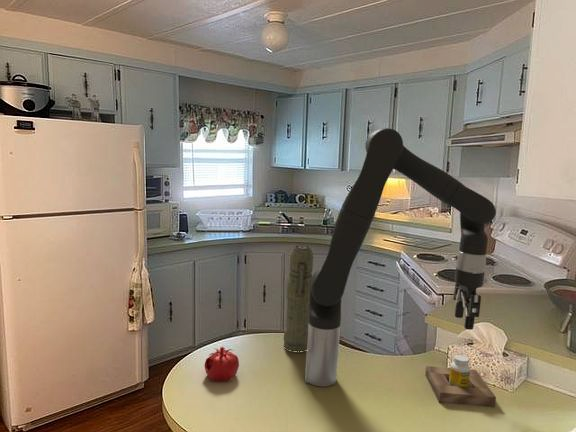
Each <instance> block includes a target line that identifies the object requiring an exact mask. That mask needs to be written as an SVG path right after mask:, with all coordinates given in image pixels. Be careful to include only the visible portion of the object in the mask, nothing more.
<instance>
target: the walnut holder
mask: <svg viewBox="0 0 576 432" xmlns="http://www.w3.org/2000/svg"><path fill="white" fill-rule="evenodd" d="M449 376H450V367H446V366H445V367H442V366H431V365H426V366H425V377H426V379H427V381H428V383H429V385H430V387H431V390H432V391H433V394H434V396H435V398H436V400H437V402H438V403H441V404H453V405H462V406H463V405H464V406H478V407H486V408H495V406H496V399H497V397H496V395H495V393H494V392H493V391H492V390H491V389H490V387H489V386H488V384H487V383H486V381H485V380H484V379H483V378H482V376H481V375H480V374H479V372H478V371H477V370H476V369H470V377H469V385H468V387H459V386H451V385H450V384H449Z"/></svg>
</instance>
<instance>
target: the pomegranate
mask: <svg viewBox="0 0 576 432" xmlns="http://www.w3.org/2000/svg"><path fill="white" fill-rule="evenodd" d="M213 349H214V350H216V351H214V352H211V353H210V354H209V355H208V357H207V358H206V359H205V360H204V361H205V362H204V370H205V373H206V376H207V377H208V378H209V379H210V380H211V381H213V382H217V383H222V382H229V381H231V380H232V379H233V378H235V376H236V375H237V373H238V370H239V367H240V361H239V357H238V355H236V354H234V353H233V352H234V351H235V350H234V349H232V348H229V349H226V348H225V347H224V346H220V348H216V347H215V348H213ZM231 351H233V352H231Z"/></svg>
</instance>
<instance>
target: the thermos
mask: <svg viewBox="0 0 576 432" xmlns="http://www.w3.org/2000/svg"><path fill="white" fill-rule="evenodd" d="M289 256H290V257H289V260H290V261H289V273H288V274H289V275H288V278H287V282H286V292H285V293H286V294H285V295H286V300H287V301H286V302H287V304H286V305H287V306H286V318H285V325H284V330H283V348H284V347H285V348H286V349H288V350H291V351H297V352H298V351H299V352H300V351H305V350H307V340H308V325H309V305H310V289H311V279H312V276H313V274H312V272H313V269H314V254H313V250H312V248H311V247H310V246H307V245H296V246H294V247H293V248H292V250H291V252H290V255H289ZM285 348H284V349H285ZM286 349H285V350H286Z"/></svg>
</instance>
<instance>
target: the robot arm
mask: <svg viewBox="0 0 576 432" xmlns="http://www.w3.org/2000/svg"><path fill="white" fill-rule="evenodd" d="M364 146H365V152H366V155H365V158H364V161H363V164H362V166H361V167H362V168H361V170H360V172H359V175H358V177H357V179H356V181H355V182H354V184H353V185H352V187H351V188H350V190H349V192H348V193H347V195H346V197H345V199H344V200H343V203H342V205H341V208H340V210H339V212H338V214H337V218H336V220H335V223H334V226H333V230H332V235H331V241H330V245H329V249H328V252H327V256H326V258H325V260H324V262H323V264H322V266H321V268H319V269H317V270H316V271H315V272H314V273H313V274H312V279H311V289H310V305H309V325H308V340H307V351H306V352H305V353H306V354H305V355H306V357H305V369H304V383H306V384H311V385H312V386H317V387H321V388H322V387H330V386H332V385H335V384H336V382H337V376H338V375H337V374H338V373H337V372H338V363H339V361H338V360H339V349H340V348H339V346H340V334H341V322H342V321H341V320H342V297H343V295H344V292H345V290H346V285H347V282H348V279H349V276H350V273H351V272H350V271H351V269H352V267H353V265H354V264H353V263H354V261H355V259H356V257H357V255H358V253H359V252H360V250H361V247H362V245H363V243H364V240H365V239H366V237H367V234H368V232H369V230H370V227H371V225H372V222H373V220H374V218H375V216H376V211H377V209H378V206H379V204H380V201H381V198H382V195H383V192H384V188H385V186H386V183H387V181H388V179H389V177H390V175H391V173H392V171H393V170H395V171H397V172H398V173H400V174H402V175H403V176H405V177H406V178H408V179H410V180H411V181H412V182H414V183H416V185H418V186H419V187H420V188H422V189H423V190H425V191H426V192H428V193H429V194H430V195H432V196H433V197H435V198H436V199H437V200H439V201H440V202H441V203H444V205H447V206H449V207H451V208H453V209H455V210H457V211H458V212H459V221H460V222H459V225H460V227H459V228H460V241H459V249H458V253H457V258H456V265H455V273H454V285H455V286H454V292H453V297H452V298H453V300H454V305H455V309H454V317H455V318H457V319H463V317H464V310H465V318H464V326H463V327H464V329H465V330H472V331H473V329H474V325H475V318H479V317H480V313H481V312H480V310H481V302H482V296H481V295H479V294H477V289H478V288H479V289H480V288H482V287H483V286H484V281H485V272H486V265H487V250H488V249H487V248H488V244H489V243H488V241H489V239H488V238H489V237H488V235H487V233H486V231H485V225H486V224H489V223H491V222H492V221H493V220H494V219H495V217H496V214H497V211H496V207H495V204H494V203H493V202H492V201H491V200H490V199H489V198H487V197H485V196H484V195H482V194H480V193H479V192H476V191H475V190H472V189H471V188H469V187H467V186H466V185H464V184H463V183H462V182H461V181H460V180H458V179H456V178H455V177H454V176H453V175H450V174H449V173H448V172H446V171H444V170H442V169H441V168H439V167H437V166H435V165H434V164H432V163H430V162H428V161H426V160H425V159H422V158H420V157H419V156H418V155H416V154H414V153H413V152H412V151H410V150H409V149H408V148H407V147H406V146H405V145H404V140H403V137H402V135H401V134H400V133H399V132H398V131H397V130H395V129H393V128H391V127H390V128H388V127H387V128H386V127H385V128H380V129H377V130H375V131H372V133H370V134H369V135H368V137H367V138H366V141H365V145H364Z"/></svg>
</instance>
